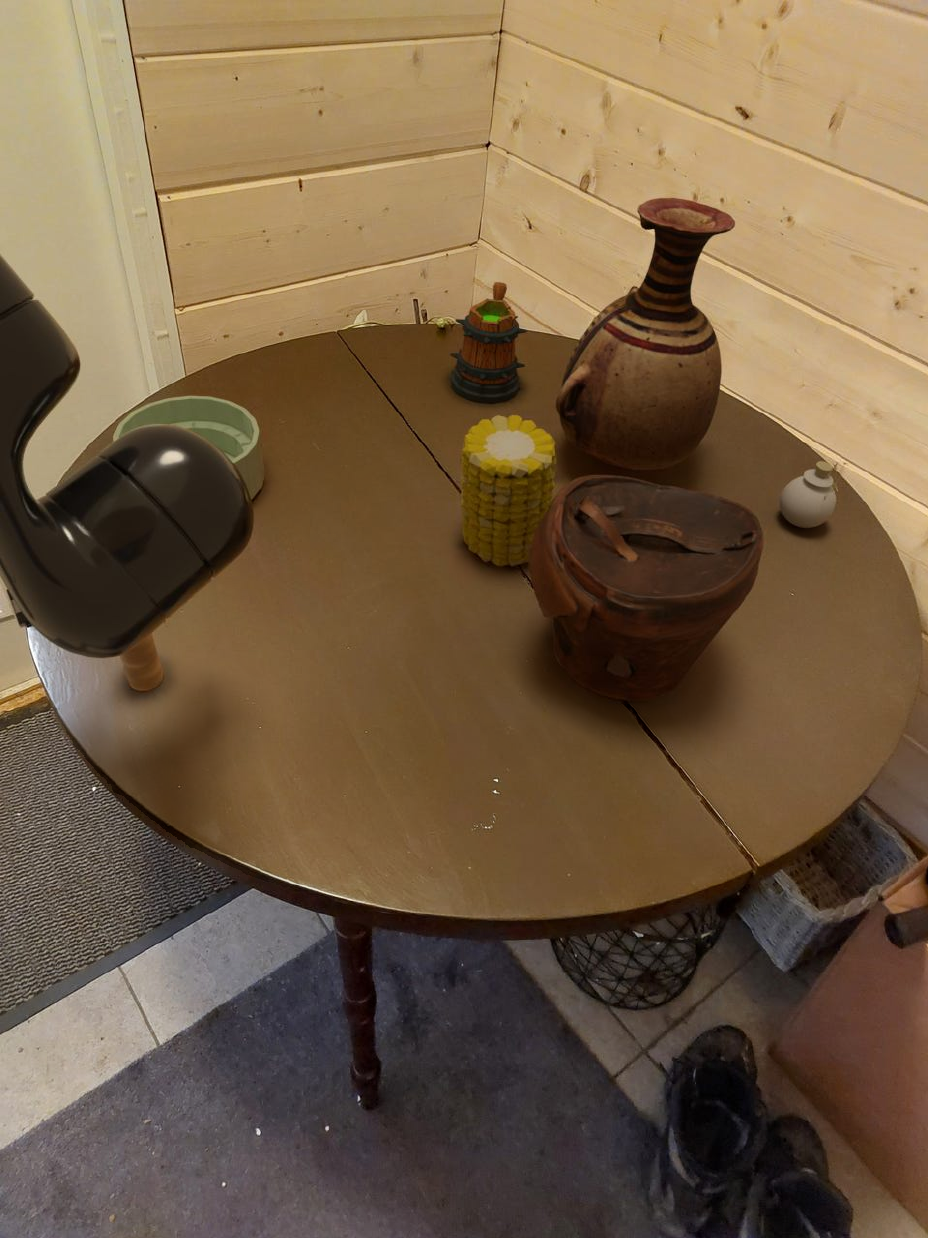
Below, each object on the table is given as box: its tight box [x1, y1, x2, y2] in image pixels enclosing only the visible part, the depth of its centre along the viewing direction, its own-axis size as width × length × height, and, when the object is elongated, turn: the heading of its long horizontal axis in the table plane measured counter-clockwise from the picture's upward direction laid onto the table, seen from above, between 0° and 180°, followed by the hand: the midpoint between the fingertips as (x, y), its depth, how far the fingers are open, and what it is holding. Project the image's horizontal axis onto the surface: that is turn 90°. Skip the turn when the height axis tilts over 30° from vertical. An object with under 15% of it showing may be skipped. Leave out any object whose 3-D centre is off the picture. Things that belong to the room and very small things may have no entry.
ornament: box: [779, 460, 839, 529], centre depth 94 cm, size 6×7×10 cm
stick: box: [119, 633, 165, 692], centre depth 70 cm, size 3×3×14 cm
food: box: [460, 414, 557, 568], centre depth 86 cm, size 15×12×10 cm
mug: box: [449, 281, 528, 404], centre depth 111 cm, size 13×10×12 cm
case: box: [528, 474, 764, 702], centre depth 75 cm, size 18×20×18 cm
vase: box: [555, 197, 736, 471], centre depth 93 cm, size 21×18×30 cm
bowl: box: [112, 395, 266, 500], centre depth 92 cm, size 15×15×6 cm
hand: (117, 585), depth 65 cm, fingers open, 8 cm apart
